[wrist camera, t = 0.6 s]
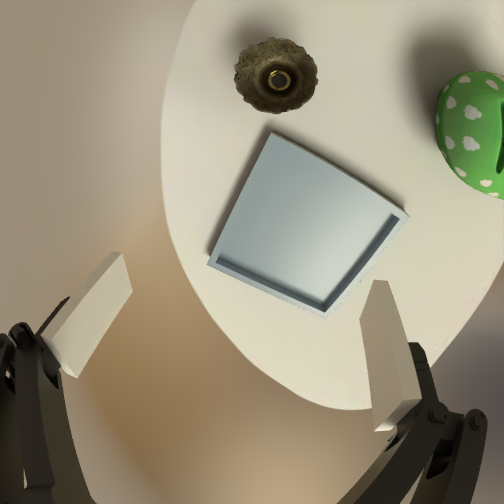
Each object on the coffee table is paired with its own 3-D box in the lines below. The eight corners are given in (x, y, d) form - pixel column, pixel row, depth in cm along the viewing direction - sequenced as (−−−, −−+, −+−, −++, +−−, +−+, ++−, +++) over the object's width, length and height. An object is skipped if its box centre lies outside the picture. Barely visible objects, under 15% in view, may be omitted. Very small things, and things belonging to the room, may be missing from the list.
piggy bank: (506, 182, 27) (568, 228, 15) (413, 169, 30) (475, 217, 17) (512, 93, 20) (583, 110, 7) (414, 61, 23) (485, 49, 10)
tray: (272, 131, 31) (271, 133, 29) (404, 210, 33) (409, 216, 31) (210, 257, 41) (206, 264, 39) (325, 310, 43) (326, 319, 42)
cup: (301, 45, 25) (304, 29, 18) (319, 102, 28) (328, 103, 21) (239, 61, 27) (222, 51, 20) (257, 117, 30) (247, 122, 23)
